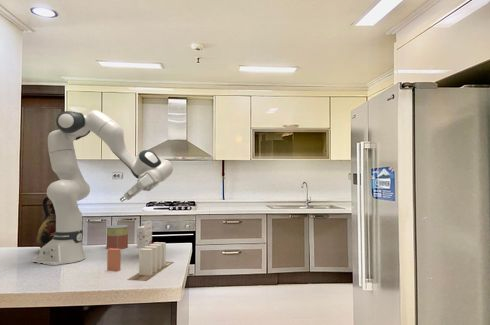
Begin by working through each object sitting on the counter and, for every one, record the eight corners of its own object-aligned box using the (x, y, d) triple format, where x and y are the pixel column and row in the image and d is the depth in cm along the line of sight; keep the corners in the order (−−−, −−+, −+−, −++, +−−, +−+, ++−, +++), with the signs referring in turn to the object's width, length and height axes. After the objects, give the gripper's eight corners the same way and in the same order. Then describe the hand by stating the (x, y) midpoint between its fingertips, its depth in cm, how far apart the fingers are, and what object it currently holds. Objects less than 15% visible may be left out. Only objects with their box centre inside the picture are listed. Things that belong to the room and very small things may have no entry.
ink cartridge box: (144, 244, 183) (144, 219, 183) (152, 245, 182) (152, 219, 182) (136, 248, 174) (136, 221, 175) (144, 248, 173) (144, 222, 174)
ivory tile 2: (163, 266, 134) (164, 243, 134) (153, 266, 134) (153, 243, 135) (165, 265, 135) (165, 242, 136) (154, 265, 136) (155, 242, 137)
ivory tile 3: (159, 269, 130) (159, 245, 130) (148, 268, 131) (148, 244, 131) (161, 268, 131) (161, 244, 132) (150, 267, 132) (150, 244, 133)
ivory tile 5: (150, 275, 122) (150, 249, 122) (138, 274, 123) (139, 249, 123) (152, 274, 123) (152, 248, 124) (141, 273, 124) (141, 248, 125)
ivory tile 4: (155, 272, 126) (155, 247, 126) (143, 271, 127) (144, 247, 127) (157, 271, 127) (157, 246, 128) (145, 270, 128) (146, 246, 129)
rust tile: (118, 274, 128) (118, 249, 128) (107, 273, 128) (107, 249, 129) (120, 273, 129) (120, 248, 130) (109, 272, 130) (109, 248, 130)
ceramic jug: (75, 248, 175) (76, 195, 177) (60, 254, 160) (61, 196, 161) (44, 248, 175) (45, 195, 176) (26, 255, 159) (27, 197, 161)
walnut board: (126, 282, 117) (126, 279, 117) (158, 263, 142) (158, 261, 142) (146, 284, 115) (146, 280, 115) (174, 264, 141) (174, 261, 141)
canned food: (120, 244, 184) (120, 224, 184) (132, 247, 177) (132, 226, 178) (102, 248, 174) (102, 226, 175) (113, 251, 168) (114, 228, 168)
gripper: (135, 183, 158) (112, 198, 148) (151, 169, 144) (127, 184, 134) (142, 193, 158) (121, 208, 149) (159, 179, 144) (137, 196, 134)
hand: (124, 197), depth 141 cm, fingers open, 8 cm apart
